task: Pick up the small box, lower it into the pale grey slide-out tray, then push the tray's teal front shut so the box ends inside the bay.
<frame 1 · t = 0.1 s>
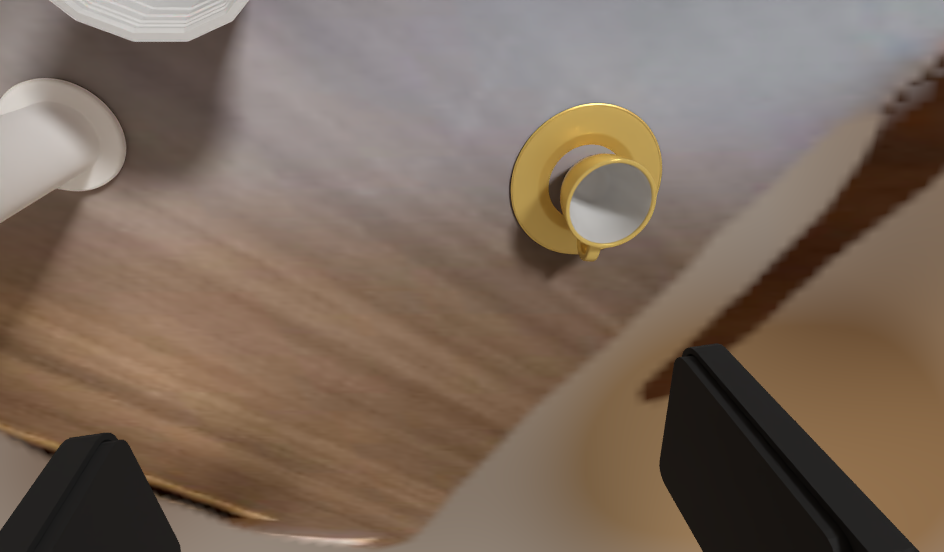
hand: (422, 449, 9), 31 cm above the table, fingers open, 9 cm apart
cup: (584, 181, 42), on the table
candle: (67, 134, 35), on the table
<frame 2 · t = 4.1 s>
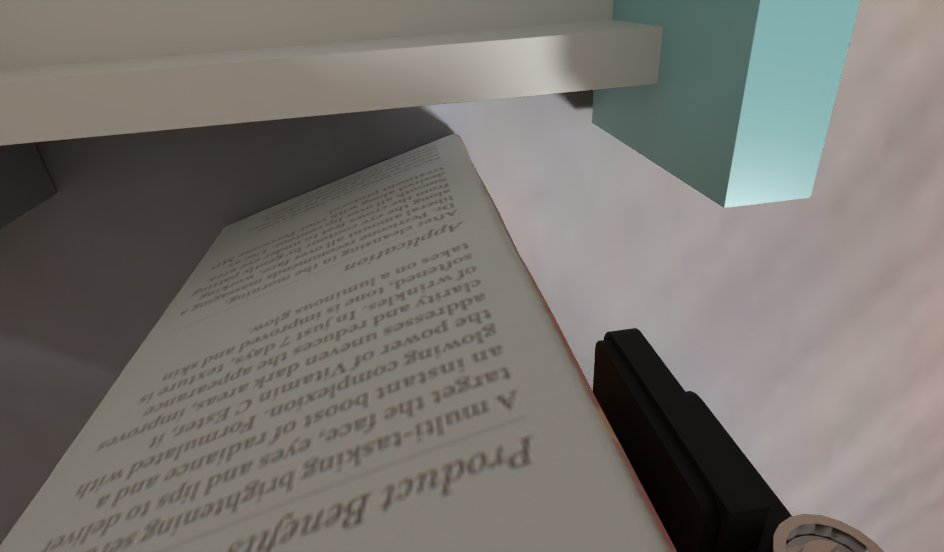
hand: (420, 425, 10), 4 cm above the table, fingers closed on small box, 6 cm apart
small box: (411, 312, 13), on the table, touching gripper
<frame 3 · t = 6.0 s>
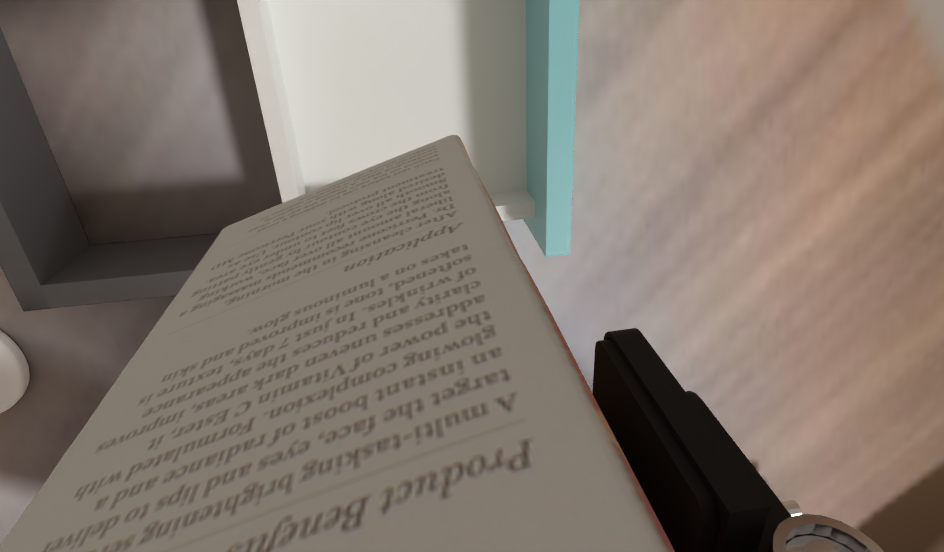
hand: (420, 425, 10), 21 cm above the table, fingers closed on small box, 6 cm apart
small box: (410, 313, 13), point 17 cm above the table, touching gripper
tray: (414, 93, 24), point 3 cm above the table, slide at 10.5 cm
bay: (164, 103, 26), on the table
when the fingers open (6 cm above the table, at t = 8.3 s): small box drops 1 cm, resting on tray.
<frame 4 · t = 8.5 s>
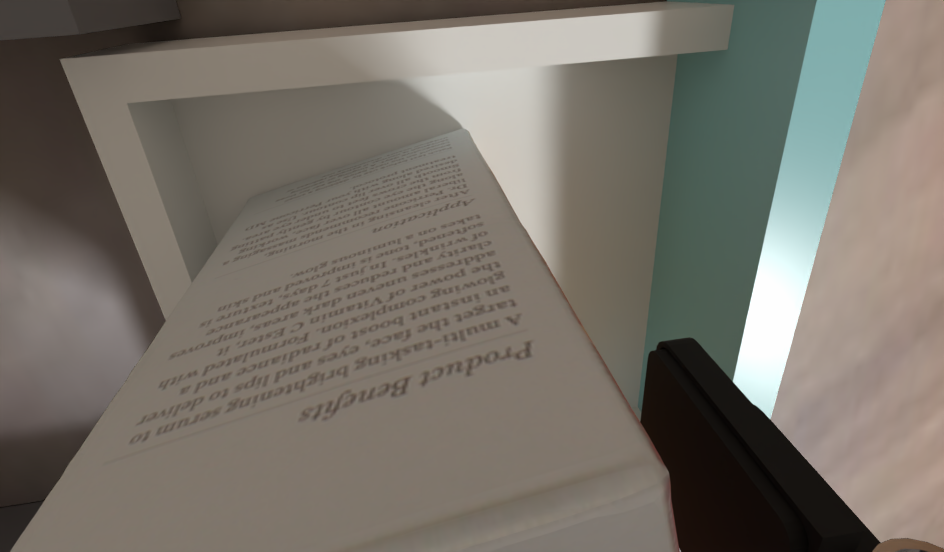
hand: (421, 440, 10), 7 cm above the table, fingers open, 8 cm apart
small box: (411, 289, 15), point 1 cm above the table, touching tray
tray: (470, 314, 13), point 3 cm above the table, slide at 10.7 cm, touching small box
bay: (14, 317, 14), on the table
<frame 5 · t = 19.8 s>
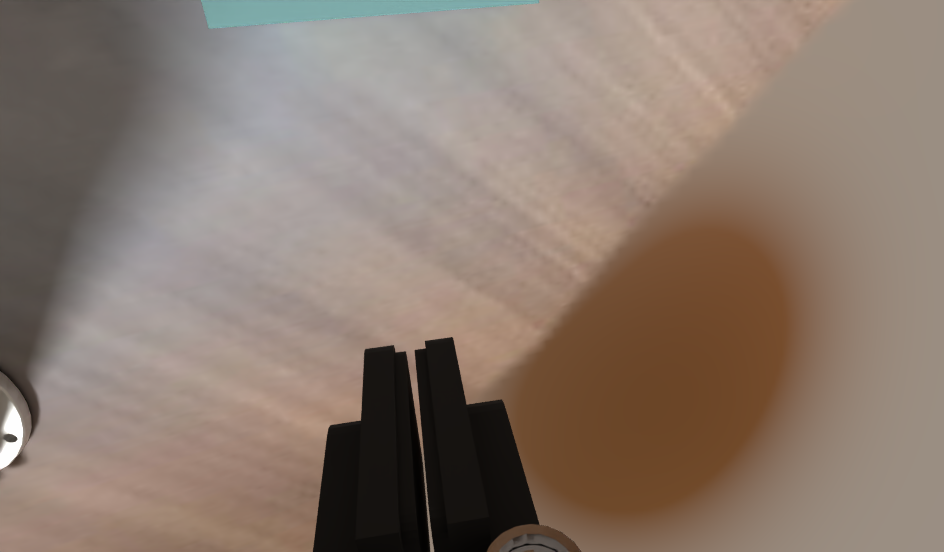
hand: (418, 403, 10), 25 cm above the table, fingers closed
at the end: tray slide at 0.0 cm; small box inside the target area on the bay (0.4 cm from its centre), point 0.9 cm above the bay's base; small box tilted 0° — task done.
